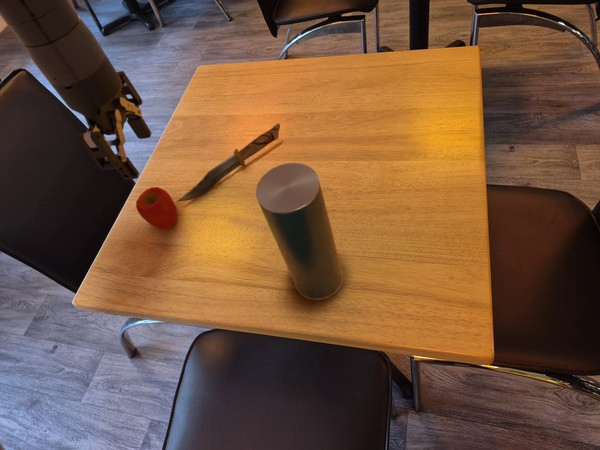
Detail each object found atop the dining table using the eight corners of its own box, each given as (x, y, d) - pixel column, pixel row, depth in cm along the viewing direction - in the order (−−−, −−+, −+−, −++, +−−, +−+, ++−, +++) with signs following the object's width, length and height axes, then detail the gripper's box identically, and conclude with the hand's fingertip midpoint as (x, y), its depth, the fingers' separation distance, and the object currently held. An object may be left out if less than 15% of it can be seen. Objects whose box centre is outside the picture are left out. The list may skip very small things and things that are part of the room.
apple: (150, 215, 84) (130, 190, 78) (180, 204, 84) (163, 178, 78) (153, 240, 80) (133, 216, 74) (185, 228, 80) (167, 203, 74)
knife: (182, 211, 83) (171, 194, 79) (179, 207, 84) (168, 190, 80) (286, 142, 88) (280, 123, 84) (282, 139, 89) (276, 120, 85)
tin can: (332, 306, 65) (303, 219, 48) (286, 291, 68) (244, 204, 51) (350, 263, 69) (329, 168, 52) (306, 251, 72) (273, 157, 55)
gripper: (66, 36, 58) (128, 128, 71) (25, 106, 50) (104, 195, 63) (117, 26, 57) (171, 121, 70) (84, 95, 49) (152, 189, 62)
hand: (139, 156), depth 66 cm, fingers open, 8 cm apart
